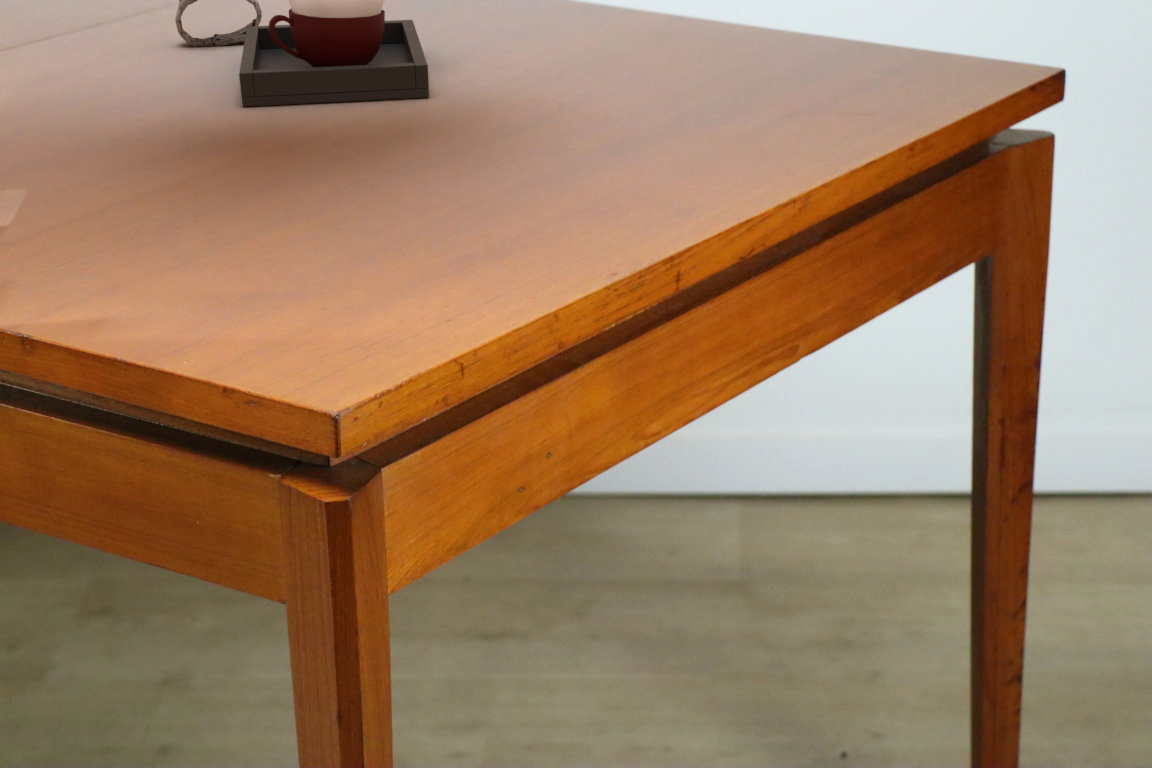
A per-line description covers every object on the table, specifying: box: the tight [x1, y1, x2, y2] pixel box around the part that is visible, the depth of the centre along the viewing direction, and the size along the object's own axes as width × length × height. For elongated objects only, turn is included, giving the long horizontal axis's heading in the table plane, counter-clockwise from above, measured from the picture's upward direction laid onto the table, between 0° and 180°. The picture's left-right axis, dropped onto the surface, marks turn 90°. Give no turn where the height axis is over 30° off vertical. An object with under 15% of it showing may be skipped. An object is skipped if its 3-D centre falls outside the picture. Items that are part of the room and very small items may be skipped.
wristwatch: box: [174, 0, 263, 48], centre depth 110 cm, size 4×6×5 cm, turn 99°
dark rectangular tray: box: [238, 19, 430, 108], centre depth 101 cm, size 12×15×2 cm
